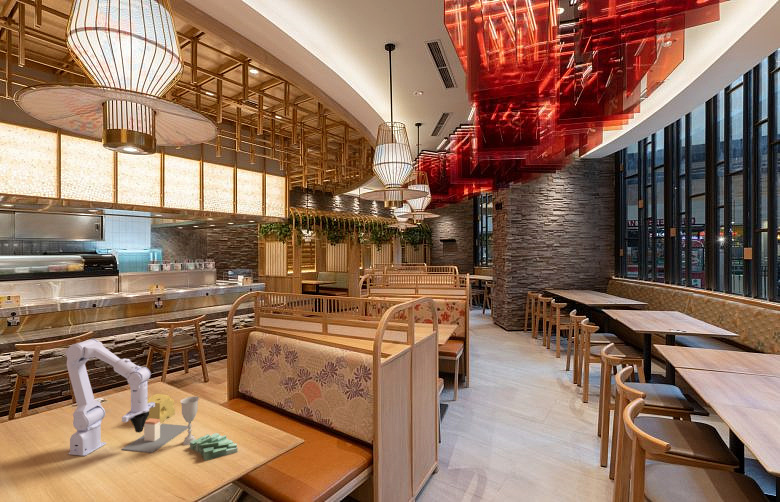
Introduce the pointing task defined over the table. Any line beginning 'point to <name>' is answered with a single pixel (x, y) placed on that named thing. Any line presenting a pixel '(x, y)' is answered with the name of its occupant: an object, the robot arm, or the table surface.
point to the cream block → (152, 429)
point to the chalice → (189, 415)
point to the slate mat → (165, 436)
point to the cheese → (161, 407)
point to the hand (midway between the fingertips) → (139, 431)
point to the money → (213, 446)
